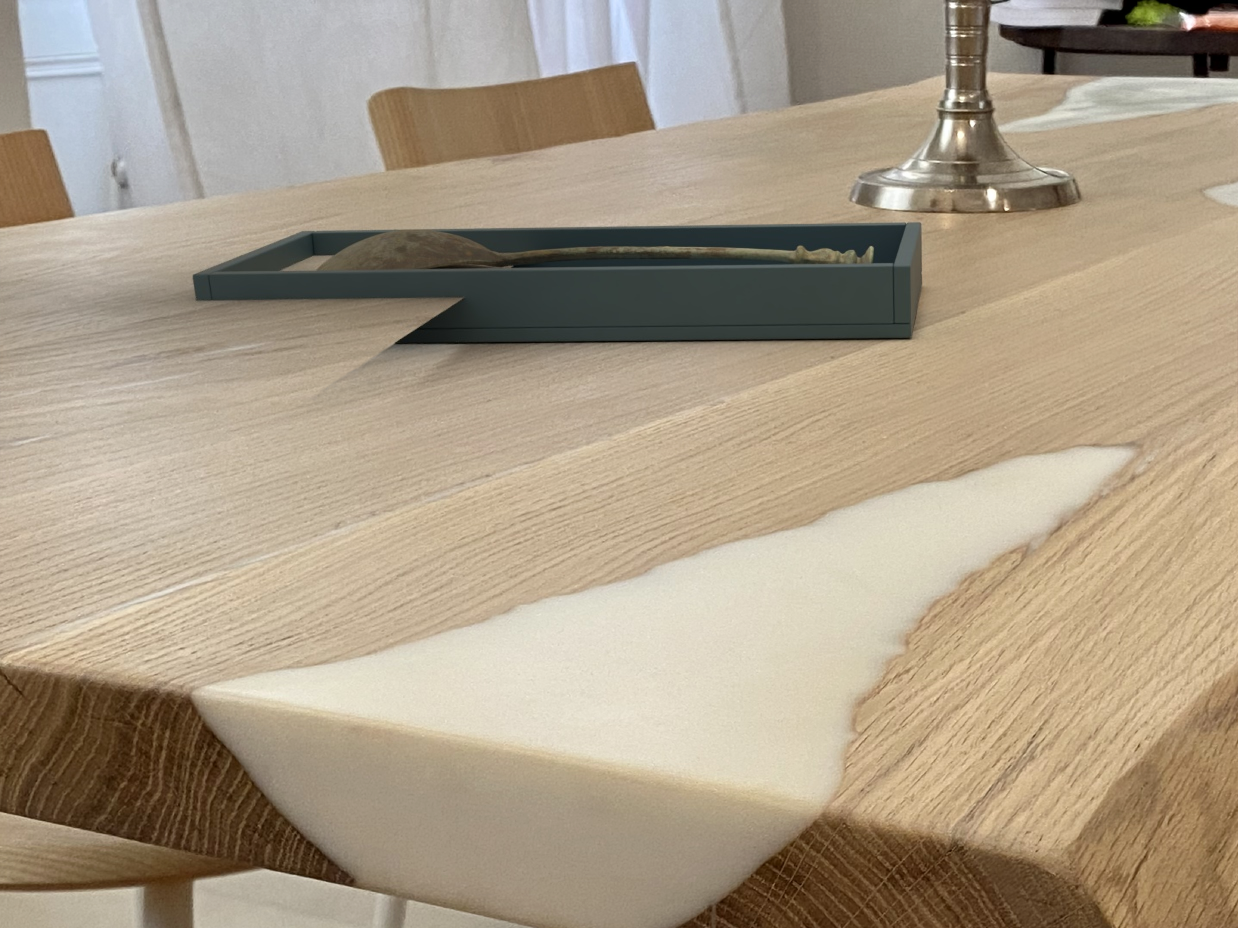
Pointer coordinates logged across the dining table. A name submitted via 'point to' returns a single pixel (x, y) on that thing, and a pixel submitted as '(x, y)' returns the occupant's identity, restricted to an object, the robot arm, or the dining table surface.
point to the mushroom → (541, 253)
